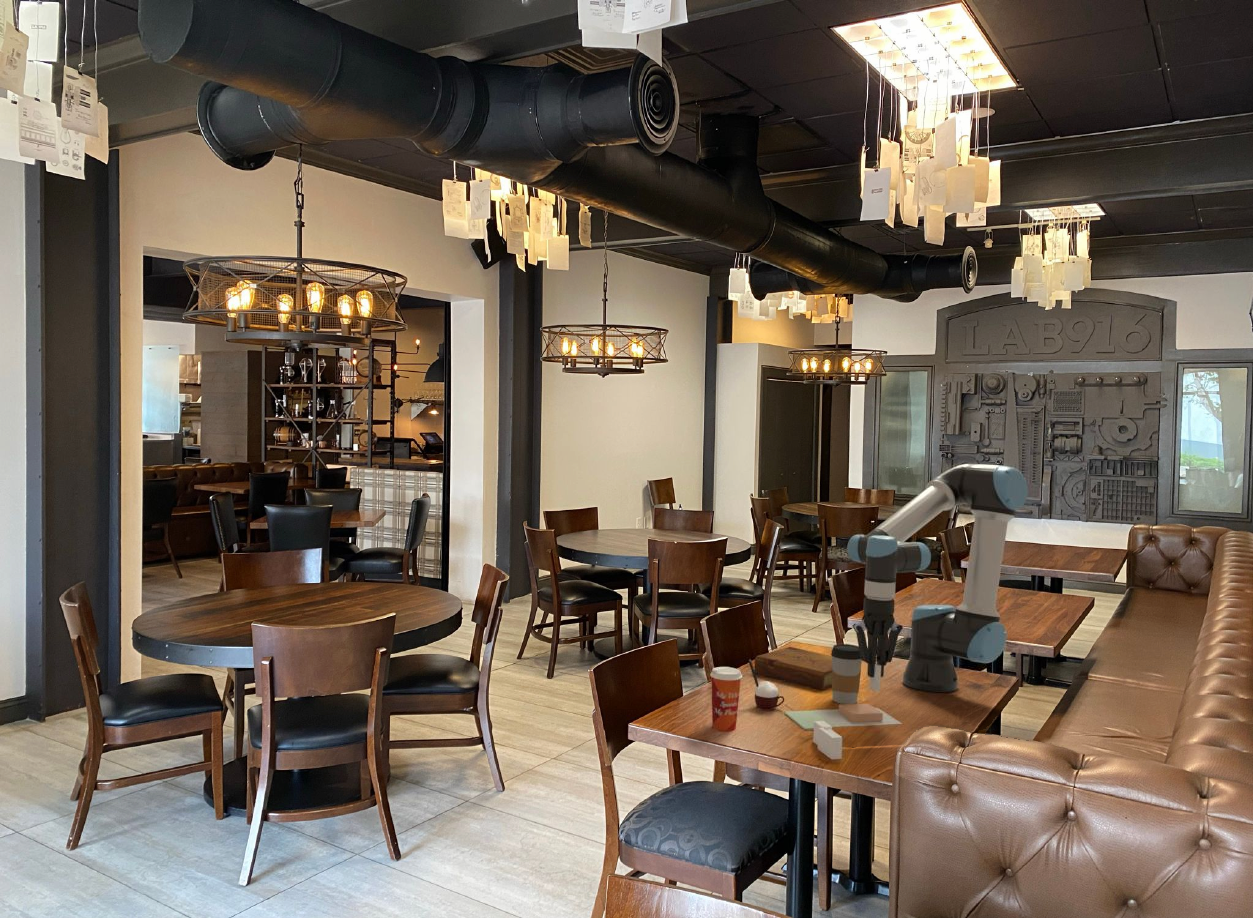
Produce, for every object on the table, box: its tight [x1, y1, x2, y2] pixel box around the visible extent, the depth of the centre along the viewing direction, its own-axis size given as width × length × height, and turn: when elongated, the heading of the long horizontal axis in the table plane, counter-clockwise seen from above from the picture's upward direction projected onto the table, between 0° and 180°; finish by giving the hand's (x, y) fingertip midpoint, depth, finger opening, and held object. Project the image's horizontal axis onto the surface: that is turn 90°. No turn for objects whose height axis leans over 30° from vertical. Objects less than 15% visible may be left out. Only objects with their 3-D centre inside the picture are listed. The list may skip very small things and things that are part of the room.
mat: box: [783, 707, 903, 731], centre depth 242 cm, size 26×13×1 cm, turn 103°
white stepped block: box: [812, 721, 843, 760], centre depth 220 cm, size 15×11×6 cm
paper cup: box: [710, 666, 743, 732], centre depth 233 cm, size 8×8×14 cm
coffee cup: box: [830, 643, 863, 705], centre depth 256 cm, size 8×8×15 cm
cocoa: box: [748, 659, 785, 711], centre depth 250 cm, size 10×6×12 cm, turn 55°
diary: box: [753, 646, 832, 691], centre depth 282 cm, size 23×19×6 cm
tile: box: [838, 703, 883, 722], centre depth 244 cm, size 2×8×8 cm
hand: (874, 689), depth 244 cm, fingers closed
